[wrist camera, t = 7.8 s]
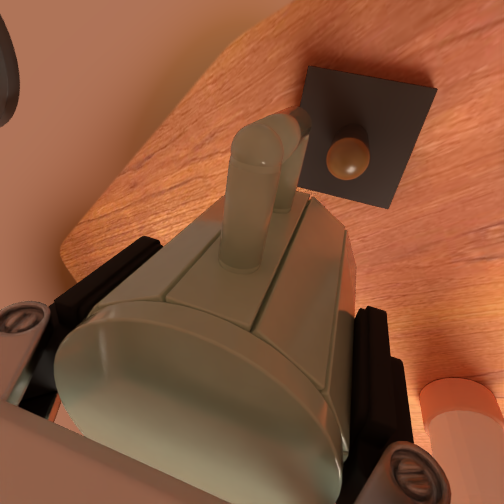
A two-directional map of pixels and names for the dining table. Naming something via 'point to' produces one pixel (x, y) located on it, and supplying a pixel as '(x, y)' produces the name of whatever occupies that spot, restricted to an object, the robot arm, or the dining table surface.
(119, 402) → the cup
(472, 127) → the dining table surface
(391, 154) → the cup stand
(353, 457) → the robot arm
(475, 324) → the dining table surface
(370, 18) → the dining table surface
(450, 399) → the pepper shaker
